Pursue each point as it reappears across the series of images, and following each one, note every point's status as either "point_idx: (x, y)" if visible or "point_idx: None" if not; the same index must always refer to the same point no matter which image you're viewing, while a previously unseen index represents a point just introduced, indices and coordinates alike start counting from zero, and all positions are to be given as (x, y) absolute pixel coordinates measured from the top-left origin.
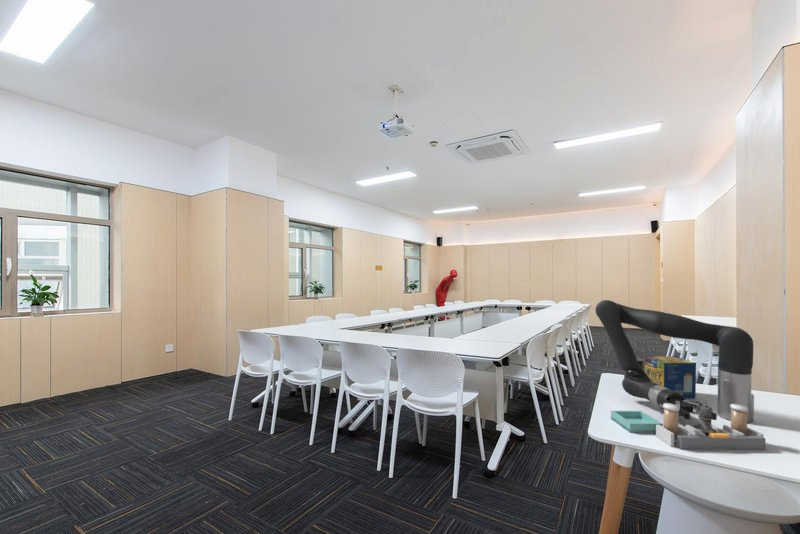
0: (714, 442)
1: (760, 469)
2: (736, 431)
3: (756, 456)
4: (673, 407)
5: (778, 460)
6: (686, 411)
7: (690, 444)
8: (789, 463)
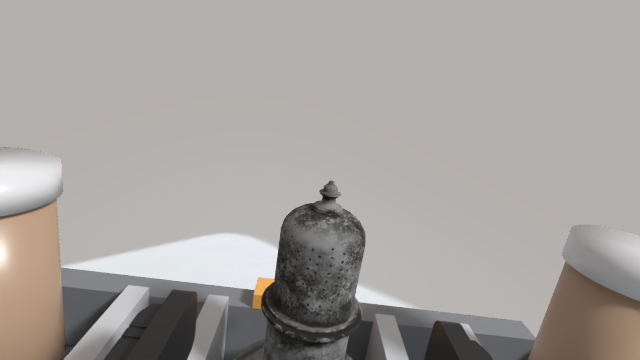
0: None
1: None
2: (126, 311)
3: None
4: (618, 232)
5: (145, 269)
6: (454, 348)
7: None
8: (134, 256)
